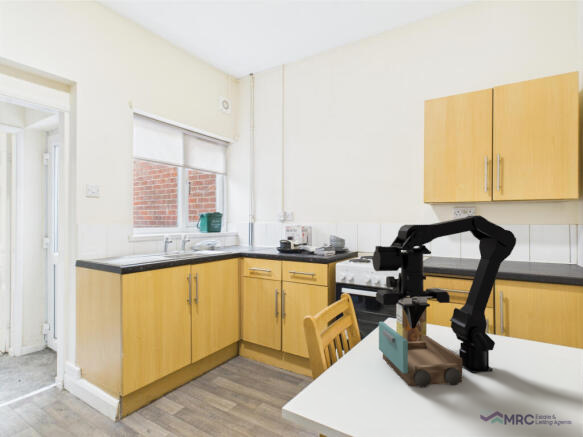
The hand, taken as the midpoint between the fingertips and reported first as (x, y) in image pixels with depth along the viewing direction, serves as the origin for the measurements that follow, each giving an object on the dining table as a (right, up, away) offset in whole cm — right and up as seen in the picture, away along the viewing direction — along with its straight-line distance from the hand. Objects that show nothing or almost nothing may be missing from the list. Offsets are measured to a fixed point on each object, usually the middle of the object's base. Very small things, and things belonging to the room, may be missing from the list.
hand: (412, 327), depth 87 cm
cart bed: (+2, -11, 0) cm, 12 cm away
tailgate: (-6, -8, -1) cm, 11 cm away
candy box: (+7, -12, +18) cm, 23 cm away
